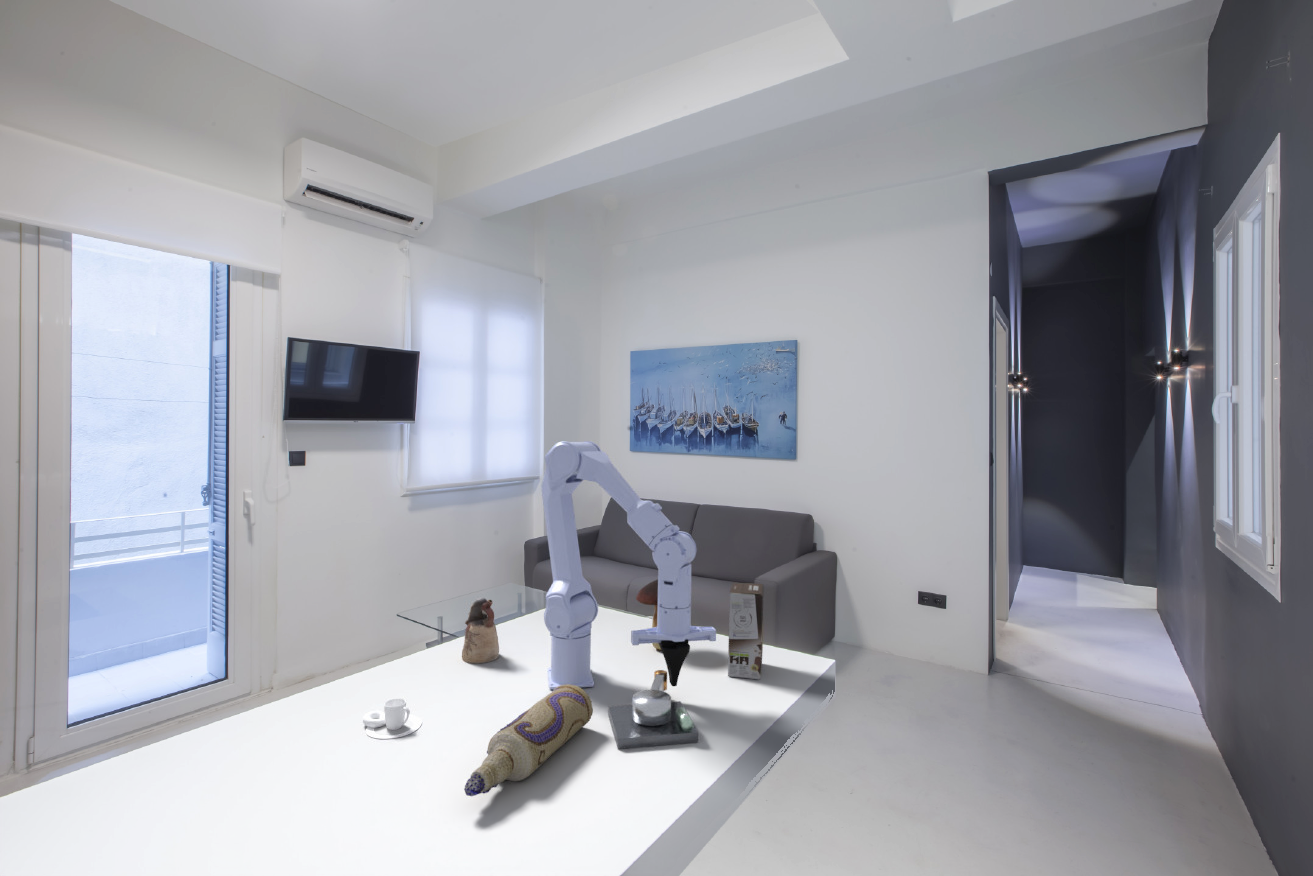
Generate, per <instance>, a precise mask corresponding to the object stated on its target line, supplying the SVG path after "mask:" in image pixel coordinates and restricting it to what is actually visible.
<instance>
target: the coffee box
mask: <svg viewBox="0 0 1313 876" xmlns="http://www.w3.org/2000/svg"><path fill="white" fill-rule="evenodd" d="M728 607H729V612H728V613H729V614H728V618H729V619H728V647H727V648H728V651H727V653H728V654H727V657H728V659H727V661H728V662H727V677H730V678H731V677H733V678H742V679H750V680H751V679H752V680H760V679H761V676H762V667H763V648H764V647H763V646H764V645H763V643H764V642H763V641H764V584H763V583H751V582H746V583H745V582H743V583H742V582H741V583H740V582H732V584H731V587H730V590H729V606H728Z"/></svg>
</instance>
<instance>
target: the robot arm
mask: <svg viewBox="0 0 1313 876" xmlns="http://www.w3.org/2000/svg"><path fill="white" fill-rule="evenodd" d="M544 461H545V471H544V474H543V478H542V482H541V489H540V490H541V496H542V498H541V499H542V504H543V505H542V506H543V511H544V521H545V528H546V534H547V543H548V551H549V557H550V558H549V559H550V566H551V574H552V583H551V586H550V587H549V589H548V590H547V592H546V595H545V603H546V605H545V609H544V613H543V620H544V621H543V622H544V625H545V627H546V629H547V630H548V632H549V633H550V634H549V636H551V645H550V646H551V647H550V649H551V650H550V651H551V652H550V654H551V655H550V656H551V657H550V667H548V668H547V678H548V679H547V680H548V688H549V689H550V690H554V689H555V688H556V687H558V686H560V685H564V684H571V685H575V686H578V687H580V688H581V689H582V688H592V687H595V682H594V678H593V674H592V671H591V653H592V652H591V646H592V644H591V643H592V625H593V622H594V621H595V620H596V618H597V616H598V613H599V605H598V602H597V599H596V598H595V596H594V594H593V591H592V585H591V583H590V582H589V581H587V580H586V579H585V577H584V575H583V568H582V562H581V554H580V547H579V540H578V539H579V538H578V531H577V529H578V528H577V523H576V516H575V515H576V514H575V507H574V500H573V493H574V491H576V490H577V489H578V487H579V485H581V484H582V482H583V481H587V482H593V483H594V482H595V483H596V484H597V485H599V486H600V487H601V488H602V489H603V490H604V491H605V492H606V493H607V494H608V495H609V496H610V497H611V498H612V499H613V501H615V503H617V504H618V505H619V506H620V507H621V508H622V509H623V510H624V511H625V512H626V517H627V518H626V520H627V521H626V522H627V524H628V526H629V527H631V529H632V530H633V531H634V532H635V534H636V535H638V537H639V538H640V539H641V540H642V541H643V543H645V545H646V546H647V547H648V548H649V549H650V550H651V551H652V552H651V554H652V560H653V562H654V564H655V565H656V567H657V569H658V570H657V571H658V573H657V574H658V575H657V579H658V612H657V627H654V628H652V627H649V628H643V629H637V630H631V632H630V642H631V644H632V646H639V645H642V644H645V645H646V644H652V643H659V646H660V648H661V650H660V651H661V652H662V655H663V657H664V660H665V664H666V667H667V674H668V679H669V683H670V686H671V687H677V685H678V680H679V676H680V672H681V669H682V667H683V665H684V662H685V660H686V658H687V657H688V655H689V653H690V650H691V645H690V644H689V642H698V641H701V642H702V641H709V642H716V641H717V630H716V628H715V627H713V626H699V625H698V626H695V625H692V623H691V622H692V621H691V619H692V618H691V617H692V562H693V561H694V559H695V558H696V555H697V543H696V541H695V540H694V539H693V537H692V535H691V534H690V533H688V532H686V531H680V529H681V528H680V527H679V526H678V525H677V524H675V525H674V524H673V523H672V521H670V519H669V518H668V517H667V516H666V514H664V513H663V512H662V509H663V507H662V506H661V504H660V503H658V502H657V503H654V502H653V501H652V500H642V499H641V498H640V496H639V495H638V494H637V493H636V491H635V490H634V489H633V488H632V486H631V485H630V484H629V483H628V481H627V480H626V479H625V478H624V477H623V475H622V473H620V472H619V471H618V469H617V468H616V467H615V466H614V464H613V463H612V461H611V460H610V458H609V455H608V454H607V453H606V452H605V451H604V450H601V447H600V446H599V445H598V444H596V443H595V442H593V441H589V440H588V441H587V440H586V441H565V440H564V441H560V442H559V441H558V442H556V443H555V444H554V445H553V446H552V447H551V448H550V450H549V451H548V452H547V453H546V454H545V456H544Z"/></svg>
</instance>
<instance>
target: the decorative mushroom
mask: <svg viewBox="0 0 1313 876" xmlns="http://www.w3.org/2000/svg"><path fill="white" fill-rule="evenodd" d="M635 600H637V602H639V603H640V604H643V605H647V606H654V610H653V615H652V625H651V628H654V627H657V612H658V578H657V579H656V580H653V581H651V582H649V583H648V584H646V585H644V586H643V587H642V588H641V589H640V590H639V591H638V593H637V594H636V597H635ZM651 645H652V647H654V648H655V649H656V650H660V651H662V650H661V648H660V646H659V643H651Z"/></svg>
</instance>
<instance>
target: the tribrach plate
mask: <svg viewBox="0 0 1313 876" xmlns="http://www.w3.org/2000/svg"><path fill="white" fill-rule="evenodd" d="M607 717H608V721H609V723H610V727H611V730H612V734H613V738H614V741H615V744H616V748H617V750H623V749H635V748H647V747H648V748H649V747H657V746H658V747H659V746H660V747H661V746H671V745H679V744H680V745H682V744H694V743H696V744H697V743H698V742H699V732H698V728H696V726H695V723H694V722H693V720H692V718H691V716H690V715H689V713H688V711H687V709H685V706H684V705H683V703H682V702H681V701H680V700H679V701H671V718H670V720H669V721H668V722H667V723H665V724H662V725H657V726H647V725H642V724H639V723H637V722H635V721H634V720H633V719H632V704H624V705H623V704H622V705H610V706H608V708H607Z"/></svg>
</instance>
